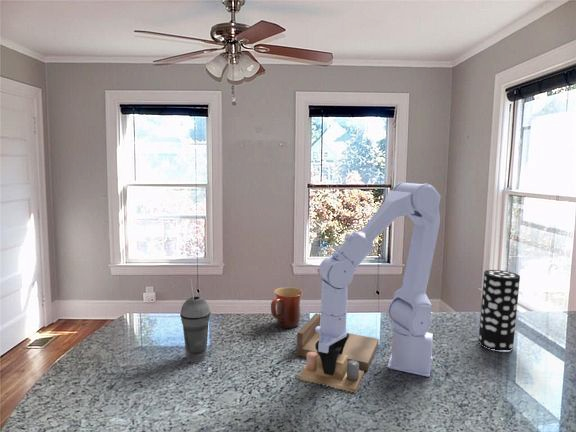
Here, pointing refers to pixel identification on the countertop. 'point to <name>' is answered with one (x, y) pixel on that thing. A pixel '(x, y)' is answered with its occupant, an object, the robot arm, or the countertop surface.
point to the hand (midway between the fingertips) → (331, 368)
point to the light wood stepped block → (354, 347)
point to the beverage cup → (195, 327)
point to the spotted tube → (498, 309)
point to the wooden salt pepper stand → (344, 374)
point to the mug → (287, 306)
